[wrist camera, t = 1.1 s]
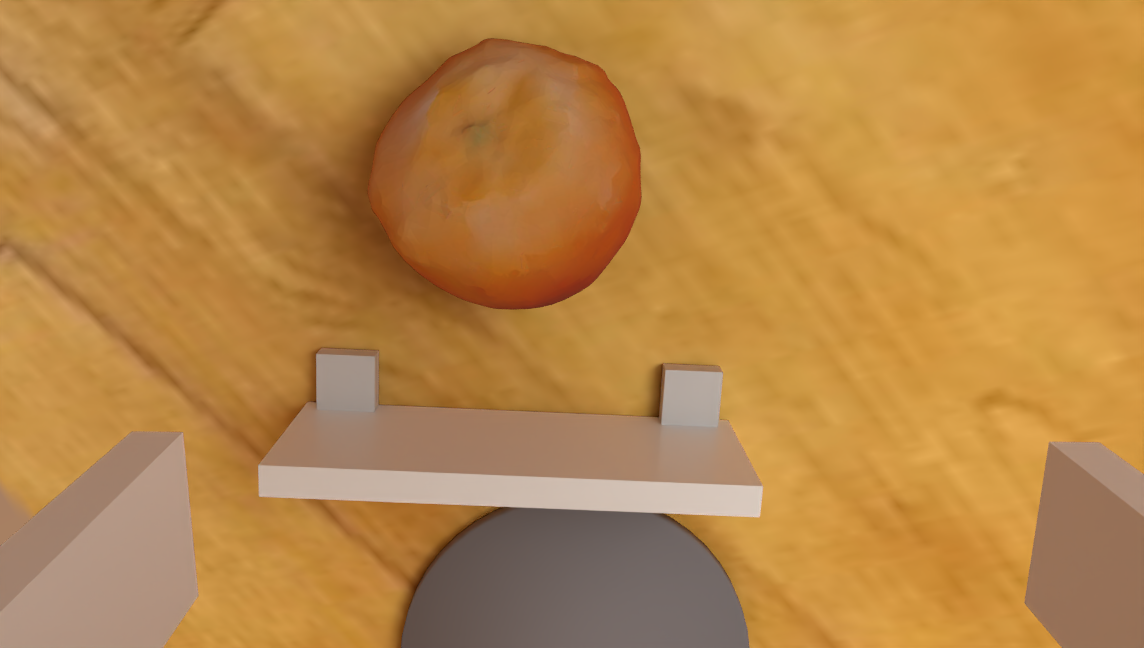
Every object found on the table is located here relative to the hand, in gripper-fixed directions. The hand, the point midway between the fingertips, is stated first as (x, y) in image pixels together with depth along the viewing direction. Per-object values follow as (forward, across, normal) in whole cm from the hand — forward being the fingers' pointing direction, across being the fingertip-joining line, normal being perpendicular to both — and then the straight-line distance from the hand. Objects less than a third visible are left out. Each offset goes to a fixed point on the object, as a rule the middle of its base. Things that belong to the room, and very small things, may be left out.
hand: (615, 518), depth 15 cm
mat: (+19, 0, -15) cm, 24 cm away
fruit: (+20, -2, +3) cm, 20 cm away
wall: (+19, -2, -6) cm, 20 cm away
